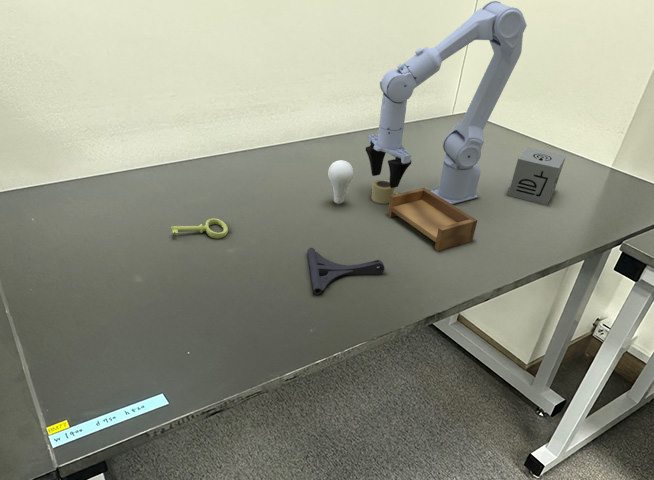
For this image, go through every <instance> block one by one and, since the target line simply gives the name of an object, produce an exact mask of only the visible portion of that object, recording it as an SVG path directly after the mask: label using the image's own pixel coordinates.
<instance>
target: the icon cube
mask: <svg viewBox="0 0 654 480" xmlns="http://www.w3.org/2000/svg"><path fill="white" fill-rule="evenodd" d="M566 158H567V155H566V154H561V153H556V152H551V151H547V150H542V149H538V148H533V147H528V146H527V147H526V148H525V149H524V150H523V152H522V153H521V154H520V156H518V158H517V161H516V164H515V169H514V172H513V175H512V179H511V183H510V187H509V190H508V193H507V196H509V197H513V198H517V199H521V200H525V201H529V202H532V203H536V204H540V205H543V206H548V204H549V202H550V200H551V198H552V196H553V194H554V193H555V191H556V187H557V185H558V181H559V178H560V175H561V173H562V169H563V166H564V163H565V161H566Z"/></svg>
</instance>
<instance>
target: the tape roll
mask: <svg viewBox="0 0 654 480" xmlns="http://www.w3.org/2000/svg"><path fill="white" fill-rule="evenodd" d="M391 195H395V187H394V188H391V187H390V180H387V179H377V180H374V181H373V183H372V188H371V197H370V199H371V200H372V201H373V202H375V203H377V204H382V205H384V204H389V203H390V196H391Z"/></svg>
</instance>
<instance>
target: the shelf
mask: <svg viewBox="0 0 654 480" xmlns="http://www.w3.org/2000/svg"><path fill="white" fill-rule="evenodd" d="M431 191H432V190H429V189H427V188H426V187H421V188H417V189H412V190H407V191H403V192H400V193H394V194H393V195H391V196H390V203H388V204H389V205H388V211H387V216H388V217H390V218H393V217H397V216H398V217H399V218H401V219H402V220H403V221H405V222H406V223H408V224H409V225H411V226H412V227H413V228H414V229H416V230H418V231H419V232H420V233H422V234H423V235H425V236H426V237H427V238H429V239H430V240H432V241H433V242H434V243H435V244H434V250H436V252H440V251H443V250H446V249H450V248H453V247H457V246H460V245H463V244H467V243H470V242H473V241H474V237H475V233H476V229H477V224H478V219H477V218H475V217H474V216H471V215H470V214H468V213H466V212H465V211H463V210H462V209H460V208H458V207H457V206H455V205H454V204H450V203H449V202H447V201H445V200H444V199H442V198H440V197H439V196H437V195H435V194H434V193H432V192H431Z"/></svg>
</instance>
